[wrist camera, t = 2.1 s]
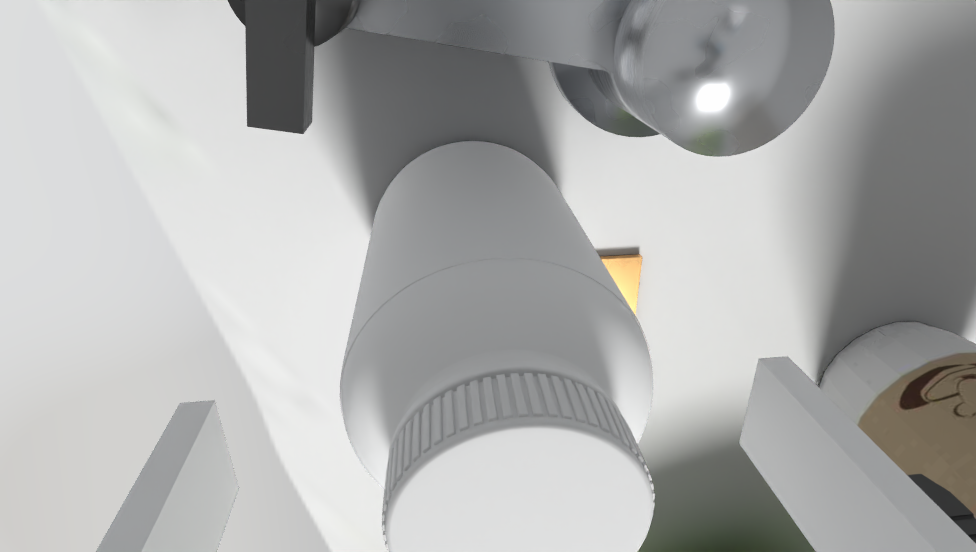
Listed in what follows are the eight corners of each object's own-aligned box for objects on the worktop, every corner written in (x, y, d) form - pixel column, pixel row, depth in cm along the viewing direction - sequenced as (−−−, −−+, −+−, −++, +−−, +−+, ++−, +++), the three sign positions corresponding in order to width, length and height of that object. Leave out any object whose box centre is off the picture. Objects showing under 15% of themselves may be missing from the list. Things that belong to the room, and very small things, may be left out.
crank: (751, -46, 19) (925, -58, 13) (694, 134, 22) (813, 202, 15) (282, -145, 17) (193, -224, 10) (280, 72, 19) (208, 121, 13)
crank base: (550, -77, 20) (557, -79, 19) (749, -77, 20) (767, -80, 19) (536, 337, 27) (541, 352, 26) (681, 327, 28) (692, 341, 27)
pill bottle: (365, 134, 22) (286, 371, 9) (572, 137, 23) (781, 354, 10) (376, 315, 26) (330, 675, 12) (555, 311, 27) (690, 643, 13)
